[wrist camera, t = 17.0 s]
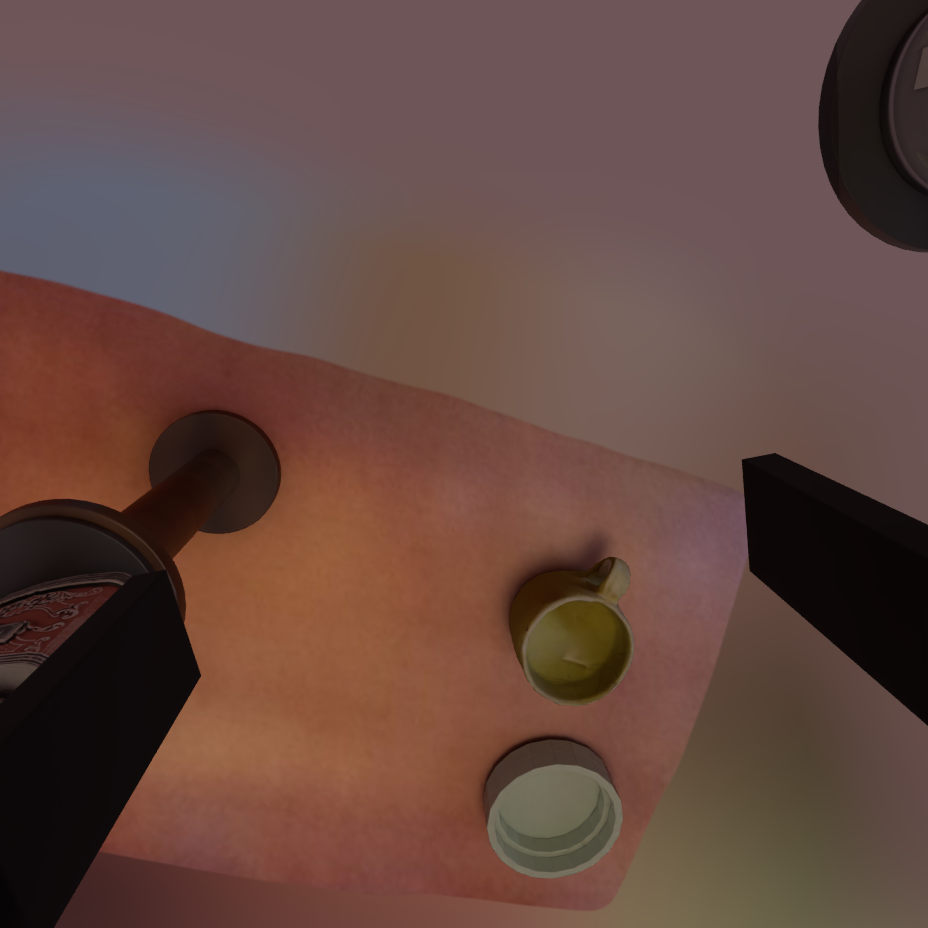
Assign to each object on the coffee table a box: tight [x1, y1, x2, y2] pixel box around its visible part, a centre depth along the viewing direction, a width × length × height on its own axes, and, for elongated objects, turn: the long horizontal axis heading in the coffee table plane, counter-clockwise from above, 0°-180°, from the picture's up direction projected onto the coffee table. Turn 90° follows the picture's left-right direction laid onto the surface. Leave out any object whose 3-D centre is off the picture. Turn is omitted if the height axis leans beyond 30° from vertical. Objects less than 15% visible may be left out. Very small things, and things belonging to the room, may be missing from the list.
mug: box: [509, 557, 634, 706], centre depth 55 cm, size 12×10×10 cm
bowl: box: [483, 739, 623, 878], centre depth 62 cm, size 12×12×4 cm
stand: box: [0, 410, 281, 622], centre depth 41 cm, size 10×10×24 cm
